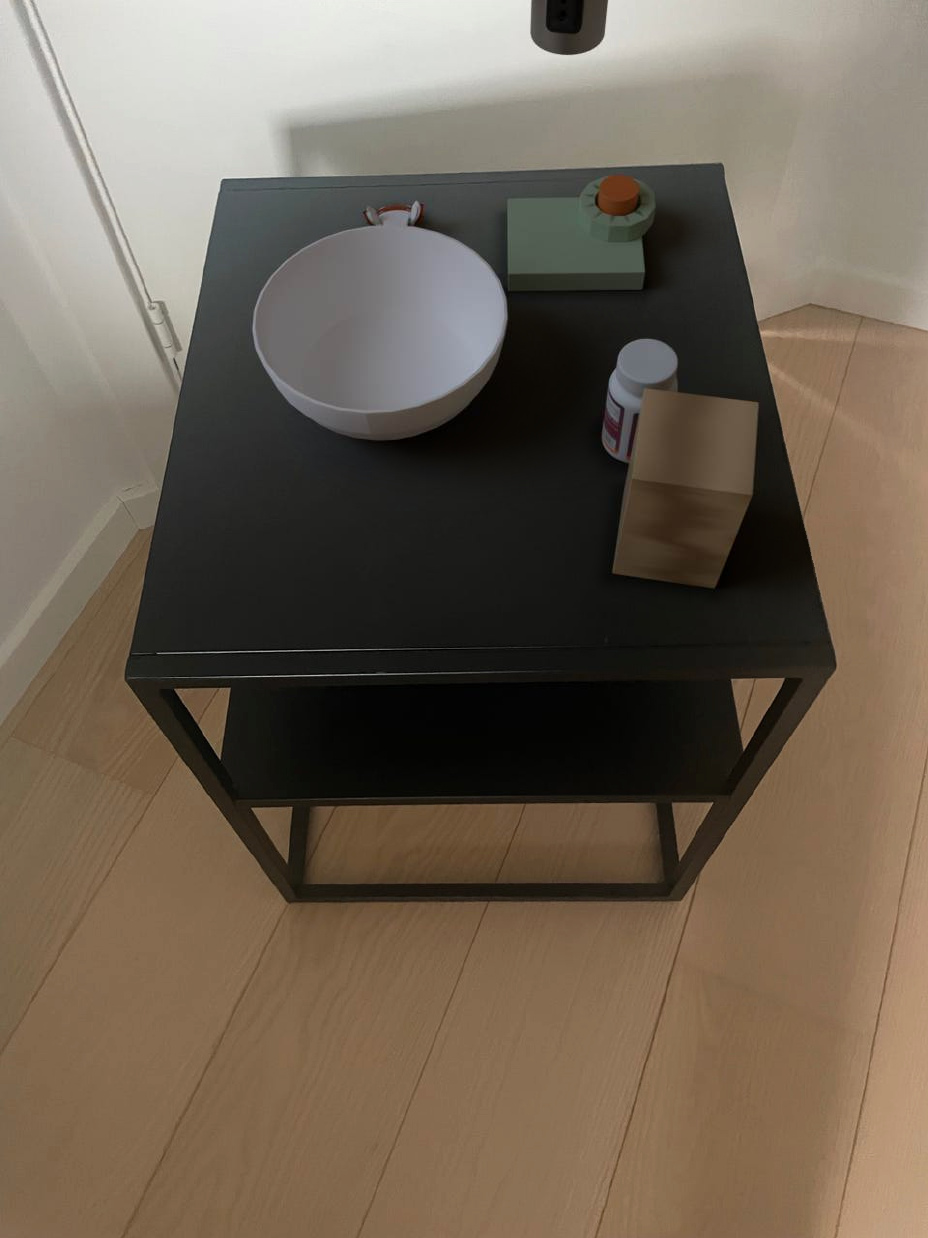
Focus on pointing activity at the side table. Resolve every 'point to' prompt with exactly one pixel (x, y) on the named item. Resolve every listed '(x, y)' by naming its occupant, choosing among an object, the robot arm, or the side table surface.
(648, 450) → the block
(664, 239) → the side table surface
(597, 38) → the spice tin
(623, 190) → the button
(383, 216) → the toy car
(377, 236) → the bowl
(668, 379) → the pill bottle
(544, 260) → the green board with knob
